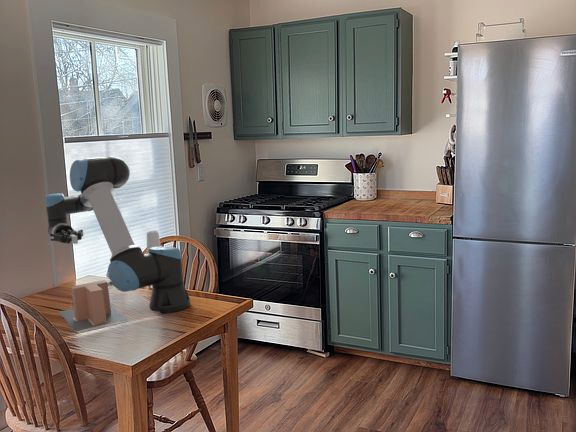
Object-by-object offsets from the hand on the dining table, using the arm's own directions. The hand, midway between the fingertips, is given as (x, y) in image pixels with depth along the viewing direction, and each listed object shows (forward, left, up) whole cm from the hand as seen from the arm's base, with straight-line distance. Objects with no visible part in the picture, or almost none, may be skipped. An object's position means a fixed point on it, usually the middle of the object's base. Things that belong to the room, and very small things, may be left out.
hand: (75, 240), depth 219 cm
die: (+27, -30, -28) cm, 49 cm away
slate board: (-13, +4, -27) cm, 30 cm away
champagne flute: (+2, -35, -28) cm, 45 cm away
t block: (-18, +5, -26) cm, 33 cm away
